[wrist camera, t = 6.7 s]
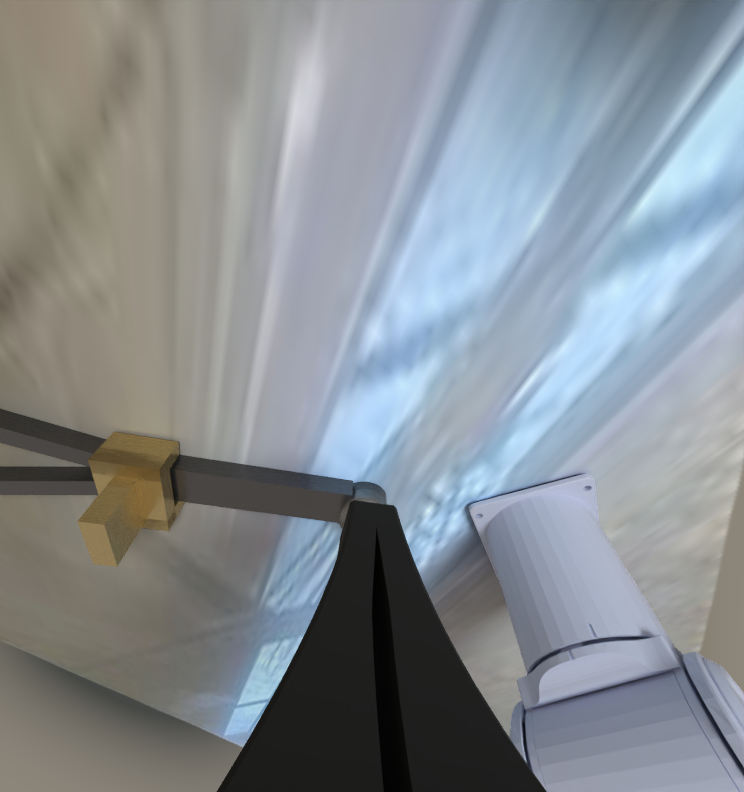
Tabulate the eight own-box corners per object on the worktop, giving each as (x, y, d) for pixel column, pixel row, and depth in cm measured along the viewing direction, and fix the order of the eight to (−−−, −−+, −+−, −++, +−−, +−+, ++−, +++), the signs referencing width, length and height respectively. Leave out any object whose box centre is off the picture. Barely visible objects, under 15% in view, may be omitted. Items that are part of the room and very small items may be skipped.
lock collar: (178, 441, 21) (127, 516, 17) (184, 501, 24) (143, 578, 20) (113, 431, 21) (44, 505, 16) (128, 494, 24) (73, 570, 19)
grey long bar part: (402, 451, 22) (405, 475, 20) (371, 540, 27) (371, 566, 25) (-153, 361, 19) (-205, 381, 17) (-71, 483, 24) (-105, 507, 22)
